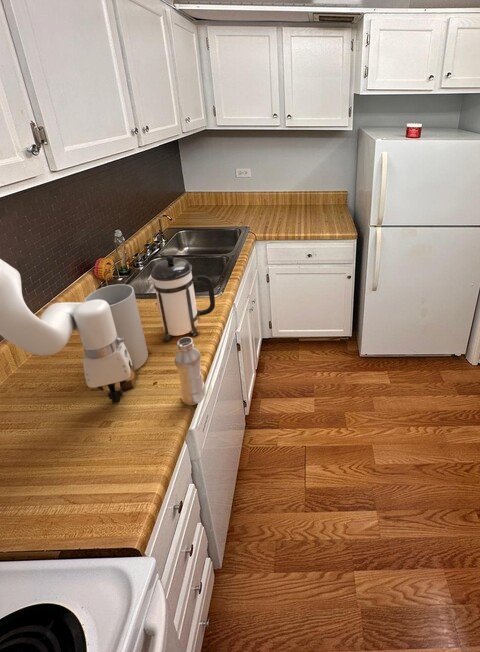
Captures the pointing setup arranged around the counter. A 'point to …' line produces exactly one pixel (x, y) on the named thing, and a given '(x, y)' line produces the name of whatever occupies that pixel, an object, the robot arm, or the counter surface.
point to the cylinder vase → (125, 319)
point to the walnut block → (129, 383)
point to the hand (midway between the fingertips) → (117, 398)
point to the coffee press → (178, 296)
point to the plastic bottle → (190, 372)
